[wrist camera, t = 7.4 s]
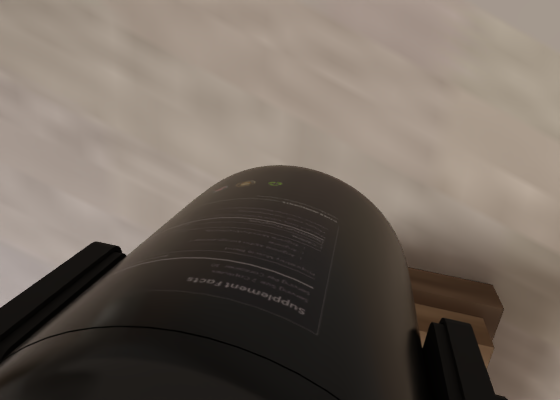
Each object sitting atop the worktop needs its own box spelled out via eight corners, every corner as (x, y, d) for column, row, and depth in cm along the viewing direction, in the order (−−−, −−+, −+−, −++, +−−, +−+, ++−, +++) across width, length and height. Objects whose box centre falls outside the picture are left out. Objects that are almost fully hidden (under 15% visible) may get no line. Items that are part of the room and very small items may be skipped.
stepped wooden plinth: (296, 244, 33) (280, 284, 27) (492, 285, 31) (517, 337, 25) (273, 389, 38) (255, 448, 32) (441, 433, 36) (452, 504, 30)
